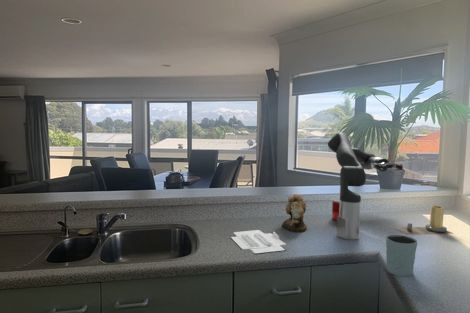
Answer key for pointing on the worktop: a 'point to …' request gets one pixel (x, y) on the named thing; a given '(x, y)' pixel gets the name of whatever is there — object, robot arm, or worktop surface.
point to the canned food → (335, 209)
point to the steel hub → (436, 229)
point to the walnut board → (417, 230)
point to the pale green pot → (400, 254)
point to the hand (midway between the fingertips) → (394, 167)
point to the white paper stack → (258, 241)
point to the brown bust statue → (295, 214)
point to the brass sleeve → (436, 217)
